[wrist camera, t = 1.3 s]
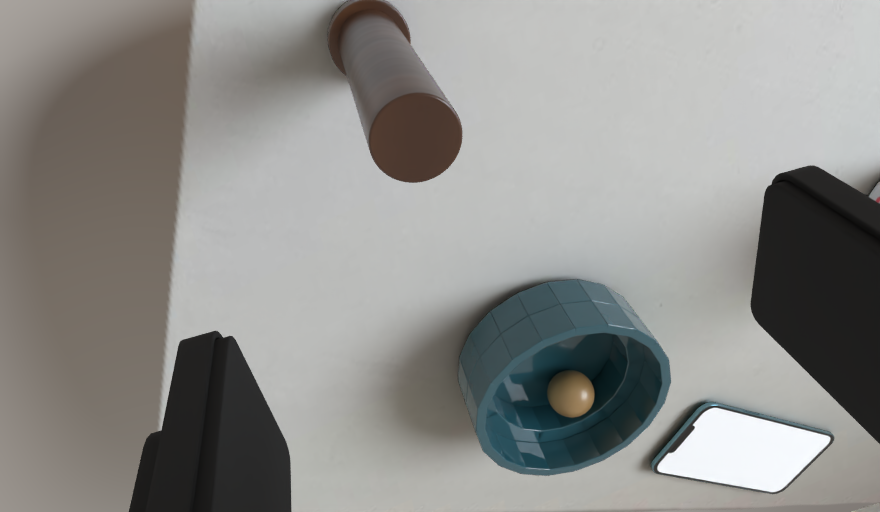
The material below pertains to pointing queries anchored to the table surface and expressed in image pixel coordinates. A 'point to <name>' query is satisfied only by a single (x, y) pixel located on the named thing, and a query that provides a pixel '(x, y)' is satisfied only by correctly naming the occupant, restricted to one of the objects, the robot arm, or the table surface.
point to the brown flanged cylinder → (393, 92)
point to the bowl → (542, 357)
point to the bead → (570, 393)
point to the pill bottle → (876, 193)
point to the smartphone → (741, 449)
